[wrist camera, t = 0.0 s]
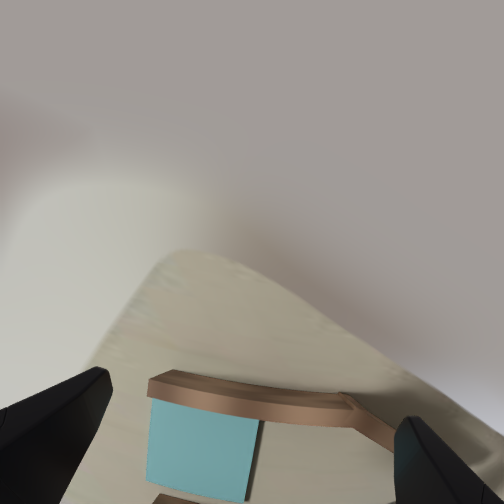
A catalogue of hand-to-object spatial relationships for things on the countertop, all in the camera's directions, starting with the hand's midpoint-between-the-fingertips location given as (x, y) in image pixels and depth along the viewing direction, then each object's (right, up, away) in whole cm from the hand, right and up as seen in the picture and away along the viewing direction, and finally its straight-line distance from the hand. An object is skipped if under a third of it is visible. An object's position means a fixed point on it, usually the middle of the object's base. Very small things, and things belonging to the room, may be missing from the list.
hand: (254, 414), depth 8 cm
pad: (-4, -11, +13) cm, 18 cm away
